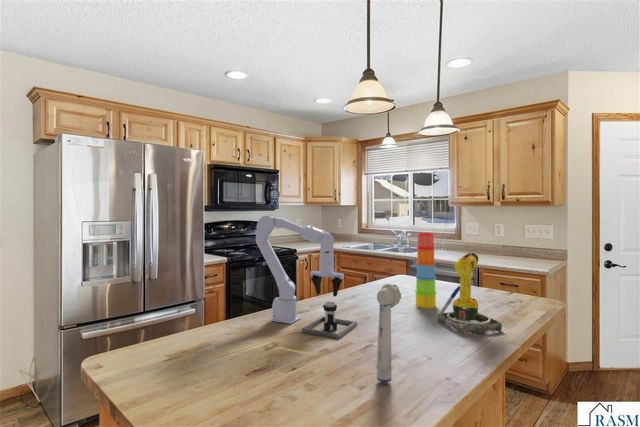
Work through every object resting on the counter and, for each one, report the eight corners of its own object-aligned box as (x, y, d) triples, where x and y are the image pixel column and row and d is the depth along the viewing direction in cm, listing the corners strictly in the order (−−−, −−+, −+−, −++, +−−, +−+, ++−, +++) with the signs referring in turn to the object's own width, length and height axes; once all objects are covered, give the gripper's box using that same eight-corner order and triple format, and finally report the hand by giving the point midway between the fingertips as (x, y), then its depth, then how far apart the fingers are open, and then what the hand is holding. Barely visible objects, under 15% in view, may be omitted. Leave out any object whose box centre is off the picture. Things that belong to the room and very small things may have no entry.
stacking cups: (441, 308, 166) (441, 233, 165) (427, 311, 160) (427, 234, 160) (424, 303, 174) (424, 232, 174) (409, 306, 168) (409, 232, 168)
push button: (322, 332, 132) (322, 305, 132) (317, 328, 137) (317, 302, 137) (339, 330, 134) (339, 304, 134) (334, 326, 139) (334, 300, 139)
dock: (302, 332, 133) (302, 328, 132) (323, 320, 148) (323, 316, 148) (338, 339, 126) (338, 334, 126) (357, 325, 141) (357, 321, 141)
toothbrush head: (371, 378, 96) (371, 285, 96) (386, 370, 101) (386, 281, 101) (387, 385, 92) (387, 288, 92) (402, 376, 97) (402, 284, 97)
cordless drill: (507, 331, 133) (506, 256, 133) (462, 335, 129) (461, 258, 129) (474, 317, 151) (474, 252, 151) (434, 321, 146) (433, 253, 147)
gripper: (306, 262, 147) (306, 295, 147) (338, 264, 140) (338, 299, 140) (314, 259, 153) (314, 291, 153) (345, 262, 147) (345, 295, 147)
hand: (326, 295), depth 147 cm, fingers open, 7 cm apart
